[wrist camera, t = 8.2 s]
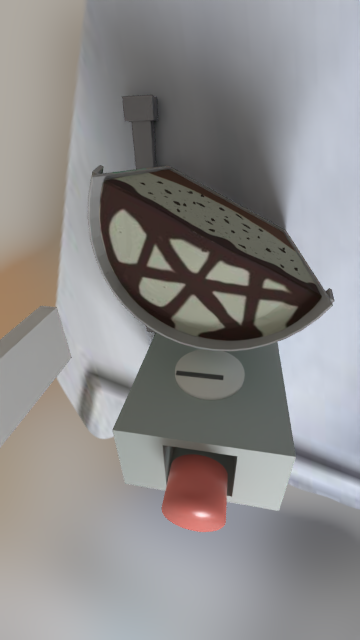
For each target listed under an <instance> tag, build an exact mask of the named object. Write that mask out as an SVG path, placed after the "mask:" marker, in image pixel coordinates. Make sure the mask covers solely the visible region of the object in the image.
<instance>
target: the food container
mask: <svg viewBox="0 0 360 640" xmlns="http://www.w3.org/2000/svg"><path fill="white" fill-rule="evenodd" d="M102 173H103V166H101V165H100V166H98V167H97V168H96V169H95V170H94V171H93V172H92V176H91V182H90V189H89V195H88V225H89V233H90V240H91V244H92V247H93V251H94V255H95V258H96V261H97V263H98V265H99V268H100V270H101V272H102V275H103V277H104V279H105V280H106V282H107V284H108V285H109V287H110V289H111V290H112V292H113V293H114V294H115V296H116V297H117V298H118V299H119V301H120V302H121V303H122V305H123V306H124V307H125V308H126V309H127V310H128V311H129V312H130V313H131V314H132V315H133V316H134V317H135V318H137V319H138V320H139V321H141V322H142V323H143V324H145V325H146V326H147V327H149V328H150V329H152V330H153V331H155V332H157V333H159V334H160V335H162V336H164V337H166V338H168V339H171V340H173V341H175V342H178V343H180V344H184V345H187V346H191V347H194V348H199V349H206V350H212V351H239V350H249V349H254V348H258V347H262V346H267V345H270V344H272V343H275V342H278V341H281V340H283V339H286V338H288V337H290V336H292V335H293V334H295V333H297V332H299V331H301V330H303V329H304V328H306V327H307V326H309V325H310V324H311V323H313V322H314V321H316V320H317V319H319V318H320V317H321V316H322V315H323V314H324V313H325V312H326V311H327V310H328V309H330V308H331V307H332V306H333V304H332V303H333V302H334V297H333V293H332V290H331V289H330V288H329V289H328V290H327V291H325V290H324V289H323V287H322V286H321V284H320V282H319V281H318V279H317V278H316V276H315V275H314V273H313V272H312V270H311V269H310V267H309V265H308V264H307V262H306V261H305V259H304V258H303V256H302V255H301V253H300V251H299V250H298V248H297V247H296V245H295V244H294V242H293V241H292V239H291V238H290V236H289V234H288V233H287V231H286V230H284V229H282V228H280V227H279V226H277V225H275V224H273V223H271V222H270V221H268V220H266V219H264V218H262V217H260V216H259V215H257V214H255V213H253V212H251V211H250V210H248V209H246V208H244V207H242V206H241V205H239V204H237V203H235V202H233V201H231V200H230V199H228V198H226V197H224V196H222V195H221V194H219V193H217V192H215V191H213V190H211V189H210V188H208V187H206V186H204V185H202V184H201V183H199V182H197V181H195V180H193V179H192V178H190V177H188V176H186V175H184V174H182V173H181V172H179V171H177V170H175V169H173V168H172V167H170V166H161V167H153V168H145V169H137V170H129V171H121V172H112V173H104V174H102Z"/></svg>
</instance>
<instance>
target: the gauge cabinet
mask: <svg viewBox="0 0 360 640" xmlns="http://www.w3.org/2000/svg"><path fill="white" fill-rule="evenodd" d="M113 434H114V438H115V443H116V447H117V451H118V456H119V459H120V464H121V469H122V473H123V477H124V481H125V484H131V485H136V486H142V487H148V488H153V489H159V490H165V491H166V486H167V482H168V477H169V472H170V468H171V464H172V462H173V460H174V459H176V458H177V457H179V456H182V455H188V454H196V455H202V456H206V457H209V458H212V459H214V460H216V461H217V462H219V463H220V464H221V465H223V466H224V468H225V469H226V471H227V474H228V482H227V502H232V503H237V504H243V505H249V506H254V507H260V508H265V509H271V510H277V511H279V509H280V506H281V503H282V500H283V496H284V493H285V490H286V487H287V484H288V480H289V477H290V474H291V471H292V467H293V464H294V461H295V458H296V455H295V449H294V443H293V437H292V430H291V424H290V418H289V412H288V405H287V399H286V393H285V387H284V381H283V374H282V368H281V362H280V356H279V349H278V343H277V342H275V343H272V344H270V345H267V346H262V347H258V348H254V349H249V350H239V351H212V350H206V349H199V348H194V347H191V346H187V345H184V344H180V343H178V342H175V341H173V340H171V339H168V338H166V337H164V336H162V335H160V334H159V333H157V332H156V333H155V336H154V338H153V340H152V342H151V345H150V347H149V349H148V351H147V354H146V356H145V358H144V360H143V363H142V365H141V367H140V369H139V372H138V374H137V376H136V378H135V381H134V383H133V385H132V387H131V390H130V392H129V394H128V396H127V399H126V401H125V403H124V405H123V408H122V410H121V412H120V414H119V417H118V419H117V421H116V423H115V426H114V428H113Z"/></svg>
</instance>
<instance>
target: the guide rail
mask: <svg viewBox="0 0 360 640" xmlns="http://www.w3.org/2000/svg"><path fill="white" fill-rule="evenodd" d="M122 98H123V108H124V117H125V121H127V122H132V130H133V141H134V151H135V162H136V170H137V169H145V168H153V167H156V151H155V135H154V121H158V108H157V97H155V96H153V95H143V96H126V97H122ZM146 327H147V326H146ZM147 331H148V332H155V331H153V330H152V329H150V328H149V327H147Z"/></svg>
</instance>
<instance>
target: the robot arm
mask: <svg viewBox="0 0 360 640" xmlns="http://www.w3.org/2000/svg"><path fill="white" fill-rule="evenodd" d="M71 358H72V357H71V353H70V350H69V347H68V343H67V340H66V337H65V333H64V330H63V327H62V323H61V320H60V316H59V313H58V310H57V307H47V306H40V307H39V308H38V309H37V310H35V311H34V312H33V313H32V314H30V315H29V316H28V317H27V318H26V319H24V320H23V321H22V322H21V323H20V324H18V325H17V326H16V327H15V328H14V329H12V330H11V331H10V332H9V333H8V334H6V335H5V336H4V337H3V338H2V339H1V340H0V447H1V446H2V445H3V443H4V442H5V441H6V440H7V438H8V437H9V436H10V435H11V433H12V432H13V431H14V430H15V428H16V427H17V426H18V424H19V423H20V422H21V421H22V420H23V418H24V417H25V416H26V414H27V413H28V412H29V411H30V409H31V408H32V407H33V406H34V404H35V403H36V402H37V401H38V399H39V398H40V397H41V396H42V394H43V393H44V392H45V391H46V389H47V388H48V387H49V385H50V384H51V383H52V382H53V380H54V379H55V378H56V377H57V375H58V374H59V373H60V372H61V370H62V369H63V368H64V367H65V365H66V364H67V363H68V362H69V360H70V359H71Z"/></svg>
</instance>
